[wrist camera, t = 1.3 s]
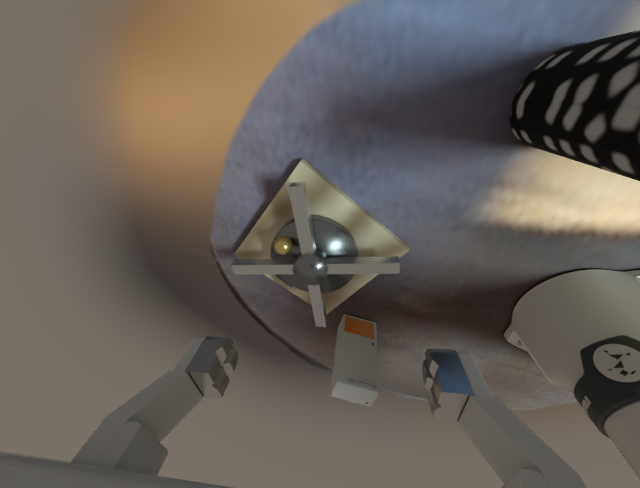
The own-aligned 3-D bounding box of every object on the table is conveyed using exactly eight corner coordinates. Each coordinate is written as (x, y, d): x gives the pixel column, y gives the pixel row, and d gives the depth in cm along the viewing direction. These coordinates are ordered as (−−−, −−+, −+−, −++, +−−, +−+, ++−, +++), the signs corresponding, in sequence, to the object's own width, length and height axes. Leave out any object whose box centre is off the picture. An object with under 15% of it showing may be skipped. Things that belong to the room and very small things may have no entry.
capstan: (402, 251, 32) (407, 271, 28) (324, 312, 40) (321, 333, 37) (301, 169, 28) (292, 180, 25) (238, 255, 36) (225, 272, 33)
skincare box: (376, 321, 42) (381, 393, 31) (369, 336, 44) (371, 408, 34) (342, 312, 42) (336, 381, 32) (336, 327, 44) (329, 396, 34)
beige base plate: (408, 245, 33) (409, 251, 32) (326, 309, 42) (325, 316, 41) (302, 158, 29) (300, 161, 28) (237, 250, 38) (233, 255, 37)
